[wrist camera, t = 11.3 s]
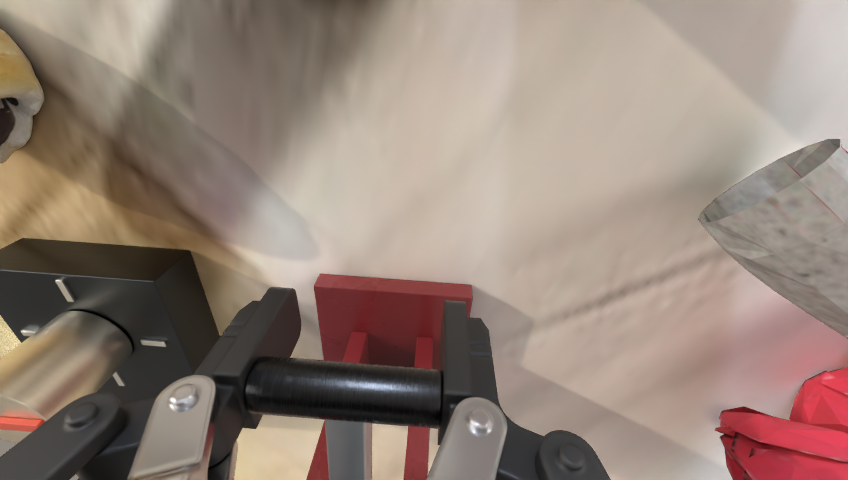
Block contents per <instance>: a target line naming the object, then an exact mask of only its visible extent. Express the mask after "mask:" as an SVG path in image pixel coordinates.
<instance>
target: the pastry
mask: <svg viewBox="0 0 848 480" xmlns="http://www.w3.org/2000/svg"><path fill="white" fill-rule="evenodd" d="M43 101H44V94H43V90H42V87H41V85H40V83H39V81H38V80H37V78H36V76H35V74H34V71H33V68H32V65H31V63H30V61H29V60H28V58H27V57H26V56H25V54H24V53H23V52H22V50H21V49H20V48H19V47H18V46H17V44H16V43H15V42H14V41H13V40H12V38H11V37H10V36H9V35H8V34H7V33H6V32H5V31H3V30H1V29H0V163H3V162H5V161H6V160H7V159H8V158H9V157H10V155H11V154H12V153H13V152H14V151H16V150H18V149H20V148H21V147H23V146H24V145H25V144H26V143H27V141H28V140H29V139H30V137H31V130H32V126H33V115H35V114H37V113H38V112H39V110H40V108H41V106H42V104H43Z"/></svg>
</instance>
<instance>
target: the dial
mask: <svg viewBox="0 0 848 480" xmlns="http://www.w3.org/2000/svg"><path fill="white" fill-rule="evenodd" d="M131 354H132V345H131V342H130V340H129V338H128V337H127V336H126V334H125V333H124V332H123V331H122V330H121V329H119V328H118V327H117V326H116V325H114V324H113V323H111V322H110V321H108V320H106V319H104V318H102V317H100V316H97V315H95V314H91V313H88V312H83V311H68V312H64V313H61V314H60V315H58V316H57V317H55V318H54V319H53V320H51V321H50V322H49V323H47V324H46V325H45V326H43V327H42V328H41V329H39V330H38V331H37V332H35V333H34V334H33V335H31V336H30V337H29V338H27V339H26V340H25V341H23V342H22V343H21V344H19V345H18V346H17V347H15V348H14V349H13V350H11V351H10V352H9V353H7V354H6V355H5V356H3V357H2V358H1V359H0V439H2V440H6V441H10V442H14V443H19V442H20V441H21V440H23V439H24V438H25V437H26V436H28V435H29V434H30V433H32V432H33V431H34V430H35V429H37V428H38V427H39V426H40V425H42V424H43V423H44V422H46V421H47V420H48V419H49V418H51V417H52V416H53V415H54V414H56V413H57V412H58V411H60V410H61V409H62V408H64V407H65V406H66V405H68V404H69V403H71V402H73V401H74V400H76V399H78V398H80V397H83V396H85V395H88V394H92V393H96V392H97V391H98V390H99V389H100V388H101V387H102V386H103V385H104V384H105V383H106V382H107V381H108V380H109V379H110V378H111V377H112V375H113V374H114V373H115V372H116V371H117V370H118V369H119V368H120V367H121V366H122V365H123V364H124V363H125V362H126V361H127V360H128V359H129V357H130V356H131Z"/></svg>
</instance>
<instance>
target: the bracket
mask: <svg viewBox="0 0 848 480" xmlns="http://www.w3.org/2000/svg"><path fill="white" fill-rule="evenodd" d="M314 291H315V298H316V305H317V313H318V320H319V327H320V334H321V342H322V349H323V356H324V361H337V362H349V363H362V364H375V365H388V366H400V367H413V368H426V369H438V370H439V361H440V337H441V326H442V317H443V307H444V300H447V301H461V302H466V308H467V318H470V312H471V306H472V300H473V296H472V286H471V285H464V284H451V283H437V282H424V281H410V280H397V279H383V278H370V277H357V276H343V275H330V274H320V275H319V277H318V279H317V281H316V283H315V285H314ZM429 431H430V428H424V427H411V426H409V427H408V438H407V449H406V459H405V470H404V480H426V479H427V476H428V455H429ZM306 480H329V469H328V456H327V443H326V430H325V421H324V424H323V427H322V430H321V434H320V437H319V440H318V443H317V447H316V450H315V453H314V456H313V460H312V463H311V466H310V469H309V473H308V476H307V479H306Z"/></svg>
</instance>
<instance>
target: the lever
mask: <svg viewBox="0 0 848 480" xmlns="http://www.w3.org/2000/svg"><path fill="white" fill-rule="evenodd" d="M442 405H443V372H442V370H438V369H426V368H413V367H400V366H388V365H375V364H362V363H349V362H337V361H324V360H311V359H299V358H286V357H273V356H262V357H260V358H258V359H257V360H256V361H255V363H254V364H253V366H252V368H251V370H250V372H249V374H248V377H247V380H246V384H245V389H244V406H245V409H246V410H247V411H248V412H249V413H253V414H265V415H277V416H289V417H302V418H314V419H325V430H326V443H327V456H328V469H329V480H372V423H375V424H387V425H399V426H411V427H424V428H436V429H437V428H439V427H440V425H441V418H442Z"/></svg>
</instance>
